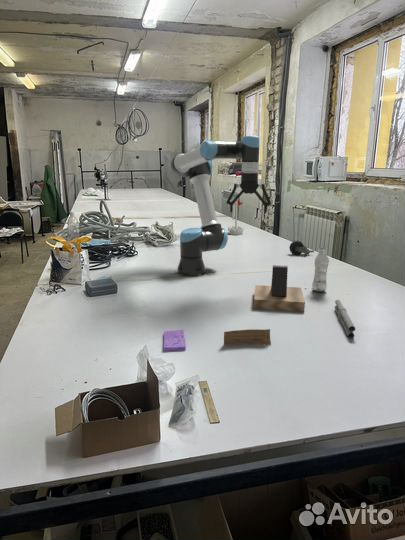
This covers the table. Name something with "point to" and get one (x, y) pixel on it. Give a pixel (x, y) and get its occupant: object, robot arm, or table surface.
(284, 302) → the wooden board
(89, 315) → the table surface
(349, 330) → the metal rod assembly
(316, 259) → the plastic bottle
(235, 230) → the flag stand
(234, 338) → the wood plank
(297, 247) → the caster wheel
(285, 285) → the phone stand
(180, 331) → the sponges
